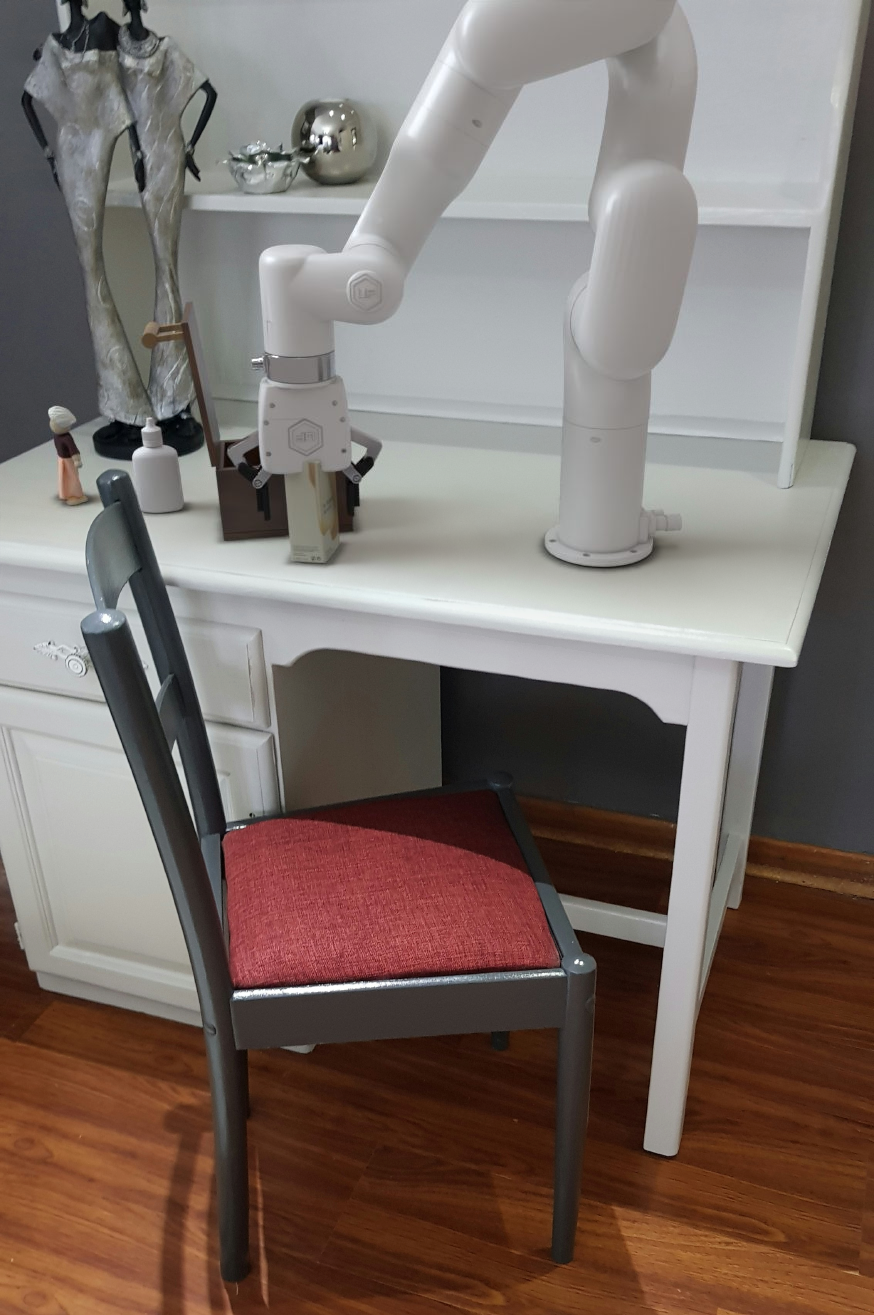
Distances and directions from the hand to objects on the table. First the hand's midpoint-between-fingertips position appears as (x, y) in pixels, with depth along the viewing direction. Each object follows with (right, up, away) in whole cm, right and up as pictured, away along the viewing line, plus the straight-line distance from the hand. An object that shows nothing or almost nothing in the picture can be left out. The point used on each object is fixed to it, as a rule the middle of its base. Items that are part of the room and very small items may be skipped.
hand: (309, 514), depth 129 cm
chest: (-4, +1, +12) cm, 13 cm away
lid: (-13, +16, +3) cm, 20 cm away
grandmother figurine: (-33, +4, +19) cm, 39 cm away
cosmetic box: (+1, -4, +2) cm, 5 cm away
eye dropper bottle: (-21, +3, +16) cm, 27 cm away
